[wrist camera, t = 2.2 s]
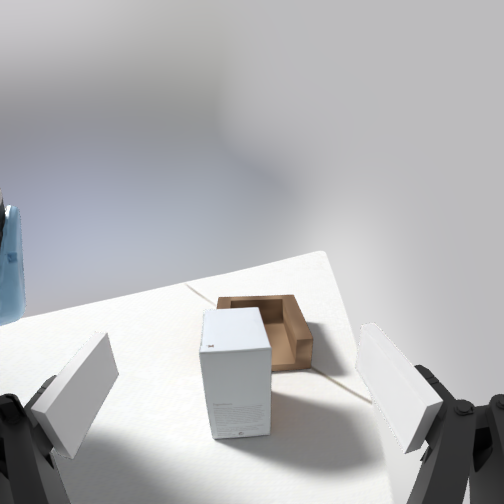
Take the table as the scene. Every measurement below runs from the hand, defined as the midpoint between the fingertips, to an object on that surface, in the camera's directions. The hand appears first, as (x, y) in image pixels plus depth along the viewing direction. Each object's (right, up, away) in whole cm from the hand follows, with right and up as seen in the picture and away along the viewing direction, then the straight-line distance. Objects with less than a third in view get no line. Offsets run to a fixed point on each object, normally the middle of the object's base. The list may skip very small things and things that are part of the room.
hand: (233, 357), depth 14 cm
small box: (0, -12, +13) cm, 18 cm away
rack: (+2, -8, +27) cm, 28 cm away
